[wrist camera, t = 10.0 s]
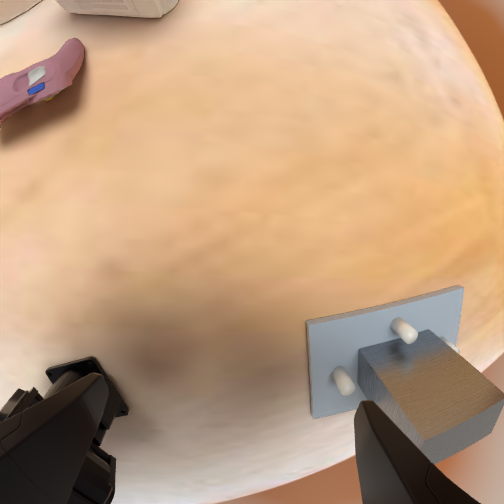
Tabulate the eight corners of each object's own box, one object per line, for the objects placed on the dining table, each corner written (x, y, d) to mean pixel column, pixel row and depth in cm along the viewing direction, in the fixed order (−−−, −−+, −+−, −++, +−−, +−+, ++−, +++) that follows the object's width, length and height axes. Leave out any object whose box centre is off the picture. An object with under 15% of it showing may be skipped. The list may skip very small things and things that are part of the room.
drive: (356, 383, 24) (410, 475, 13) (358, 348, 23) (423, 441, 12) (423, 363, 24) (490, 434, 13) (428, 328, 23) (507, 396, 12)
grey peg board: (311, 413, 25) (319, 437, 22) (306, 320, 23) (317, 341, 20) (445, 372, 26) (461, 388, 22) (458, 284, 23) (481, 296, 20)
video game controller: (9, 124, 19) (-35, 155, 14) (-4, 82, 16) (-52, 103, 11) (98, 83, 19) (62, 101, 14) (86, 34, 16) (46, 35, 11)
